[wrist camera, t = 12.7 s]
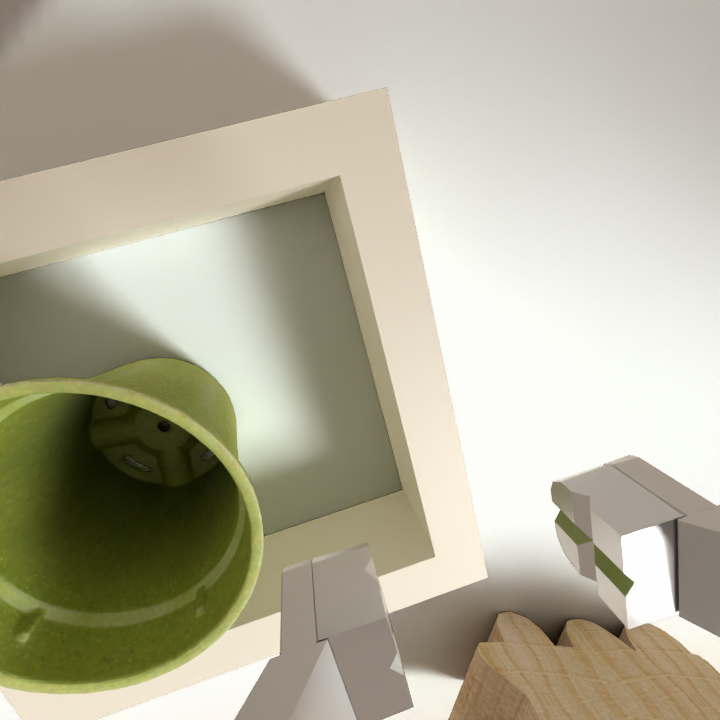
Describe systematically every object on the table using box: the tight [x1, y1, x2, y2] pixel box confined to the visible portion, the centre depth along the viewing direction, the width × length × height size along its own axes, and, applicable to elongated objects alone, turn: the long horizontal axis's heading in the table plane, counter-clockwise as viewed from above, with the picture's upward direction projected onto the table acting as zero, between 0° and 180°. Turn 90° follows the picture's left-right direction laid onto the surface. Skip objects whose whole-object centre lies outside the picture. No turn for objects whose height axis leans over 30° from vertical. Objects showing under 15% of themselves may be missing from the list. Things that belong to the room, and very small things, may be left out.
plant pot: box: [0, 358, 264, 694], centre depth 15 cm, size 9×9×9 cm
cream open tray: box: [0, 87, 488, 720], centre depth 17 cm, size 19×19×5 cm
